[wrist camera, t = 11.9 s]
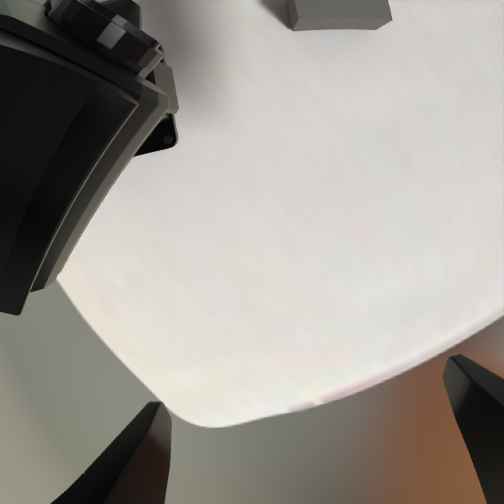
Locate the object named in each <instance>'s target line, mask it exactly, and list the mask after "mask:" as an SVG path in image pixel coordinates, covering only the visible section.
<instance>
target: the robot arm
mask: <svg viewBox="0 0 504 504" xmlns="http://www.w3.org/2000/svg"><path fill="white" fill-rule="evenodd" d="M178 109H179V106H178V101H177V95H176V89H175V83H174V77H173V72H172V68H170V67H169V66H167V65H165V60H164V53H163V48H162V45H161V44H160V43H158V42H157V41H156V40H154V39H153V38H151V37H150V36H149V35H147V34H146V33H144V32H143V31H142V20H141V7H140V6H139V5H137V4H136V3H135V2H133V1H132V0H47V1H46V2H45V3H44V5H41V4H39V3H36V2H34V1H32V0H0V312H4V313H8V314H12V315H20V314H21V312H22V310H23V307H24V305H25V302H26V300H27V297H28V295H29V293H30V292H33V291H37V290H41V289H44V288H45V287H46V286H48V285H49V284H51V283H52V282H54V281H55V279H56V277H57V275H58V274H59V273H60V272H61V271H62V269H63V267H64V265H65V263H66V262H67V260H68V258H69V256H70V254H71V253H72V251H73V249H74V247H75V245H76V244H77V242H78V240H79V239H80V237H81V235H82V233H83V232H84V230H85V228H86V227H87V225H88V223H89V222H90V220H91V218H92V217H93V215H94V214H95V212H96V210H97V209H98V207H99V206H100V204H101V203H102V201H103V200H104V198H105V196H106V195H107V193H108V192H109V190H110V189H111V187H112V186H113V184H114V183H115V181H116V180H117V179H118V177H119V176H120V174H121V173H122V171H123V170H124V168H125V167H126V166H127V164H128V163H129V161H130V160H131V159H132V157H135V156H139V155H143V154H147V153H151V152H155V151H159V150H164V149H168V148H171V147H173V146H175V145H176V144H177V142H178V134H177V129H176V123H175V118H174V114H175V113H176V112H177V111H178ZM167 135H170V136H171V137H172V142H171V143H167V142H166V140H165V139H166V136H167ZM443 382H444V385H445V388H446V391H447V394H448V397H449V400H450V404H451V407H452V410H453V413H454V416H455V419H456V422H457V424H458V427H459V429H460V431H461V434H462V436H463V439H464V441H465V444H466V446H467V449H468V451H469V454H470V457H471V459H472V462H473V464H474V467H475V470H476V473H477V476H478V479H479V481H480V484H481V487H482V490H483V493H484V496H485V499H486V502H487V504H504V379H503V378H501V377H500V376H498V375H496V374H495V373H493V372H491V371H490V370H488V369H486V368H485V367H483V366H481V365H479V364H478V363H476V362H474V361H473V360H471V359H469V358H467V357H466V356H464V355H462V354H460V353H456V354H454V355H450V356H449V357H448V358H447V361H446V364H445V367H444V371H443ZM171 430H172V420H171V416H170V415H169V413H168V411H167V409H166V407H165V405H164V403H163V402H161V401H150V402H148V403H147V404H146V405H145V407H144V408H143V409H142V410H141V411H140V412H139V413H138V414H137V415H136V417H135V418H134V419H133V420H132V421H131V422H130V423H129V424H128V425H127V426H126V427H125V429H124V430H123V431H122V432H121V433H120V434H119V435H118V436H117V437H116V438H115V439H114V440H113V442H112V443H111V444H110V445H109V446H108V447H107V448H106V449H105V450H104V451H103V452H102V453H101V455H100V456H99V457H98V458H97V459H96V460H95V461H94V462H93V463H92V464H91V466H89V467H88V468H87V470H86V471H85V473H83V474H82V475H81V476H80V477H79V478H78V479H77V480H76V481H75V482H74V483H73V484H72V485H71V486H70V487H69V488H68V489H67V490H66V491H65V492H64V493H62V494H61V495H60V496H59V497H58V498H57V499H55V500H54V501H53V502H52V503H51V504H164V503H165V495H166V489H167V482H168V476H169V469H170V458H171Z"/></svg>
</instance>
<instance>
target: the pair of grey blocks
mask: <svg viewBox="0 0 504 504" xmlns="http://www.w3.org/2000/svg"><path fill="white" fill-rule="evenodd" d="M286 2H287V7H288V11H289V16H290V21H291V26H292V31H302V30H323V29H368V30H376V29H378V28H380V27H381V26H383V25H385V24H386V23H388V22H390V21H392V16H391V11H390V7H389V3H388V0H287V1H286Z"/></svg>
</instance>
